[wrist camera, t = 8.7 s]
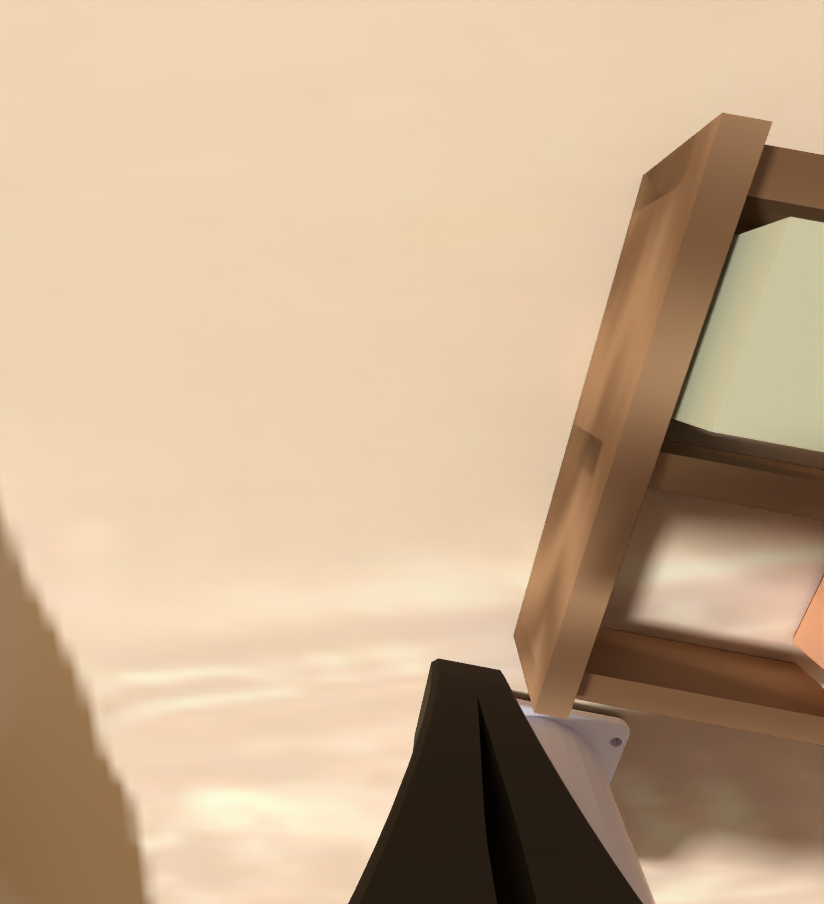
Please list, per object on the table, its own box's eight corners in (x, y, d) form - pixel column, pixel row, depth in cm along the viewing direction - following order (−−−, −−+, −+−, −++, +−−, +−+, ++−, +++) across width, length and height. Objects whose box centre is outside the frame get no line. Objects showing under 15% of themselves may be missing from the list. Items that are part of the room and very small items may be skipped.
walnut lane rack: (784, 686, 19) (876, 777, 15) (513, 635, 19) (533, 712, 15) (1006, 240, 14) (1225, 202, 10) (643, 175, 14) (722, 112, 10)
